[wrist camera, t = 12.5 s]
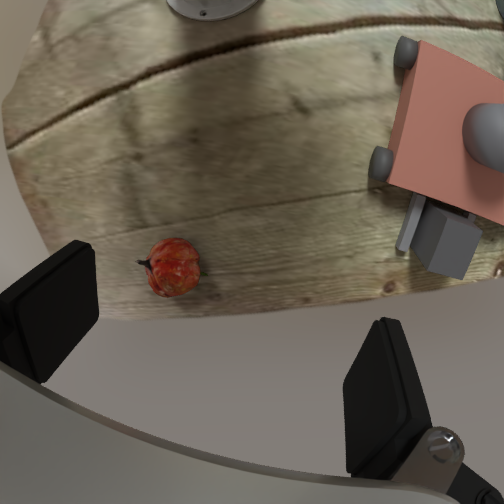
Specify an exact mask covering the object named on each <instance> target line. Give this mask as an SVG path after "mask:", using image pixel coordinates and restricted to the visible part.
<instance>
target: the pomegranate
mask: <svg viewBox="0 0 504 504" xmlns="http://www.w3.org/2000/svg"><path fill="white" fill-rule="evenodd" d="M199 259H200V257H199V254H198V253H197V251H196V250H195V249H194V248H193V247H192V245H191V244H190V243H189V242H188V241H186V240H184V239H180V238H168V239H164V240H161V241H160V242H158V243H157V244H156V245H154V246H153V247H152V249H151V251H150V254H149V256H148V257H147V259H146V260H144V261H142V260H137V261H135V262H137V263H138V264H140V265H144V266H145V270H146V274H147V275H148V282H149V284H150V286H151V287H152V289H153V291H154V292H155V293H156V294H158V295H159V296H162V297H167V298H168V297H171V296H177V295H182V294H184V293H186V292H188V291H190V290H192V288H194V287H195V286H196V285H197V284H198V282H199V277H200V274H201V275H206V276H208V274H206V273H204V272H200V267H199Z"/></svg>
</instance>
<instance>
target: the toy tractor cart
mask: <svg viewBox="0 0 504 504" xmlns="http://www.w3.org/2000/svg"><path fill="white" fill-rule="evenodd" d="M394 64H395V65H396V66H399V67H402V68H405V75H404V80H403V85H402V89H401V94H400V99H399V103H398V108H397V112H396V117H395V121H394V125H393V129H392V133H391V137H390V141H389V145H388V149H386V148H383V147H380V146H376V148H375V149H374V151H373V154H372V156H371V160H370V164H369V177H370V178H372V179H375V180H379V181H382V182H385V181H387V182H388V183H389V184H392V185H396V186H399V187H402V188H405V189H408V190H411V191H414V192H413V195H412V198H411V201H410V204H409V207H408V210H407V213H406V216H405V219H404V222H403V225H402V228H401V231H400V234H399V236H398V239H397V242H396V247H397V248H398V250H401V251H405V252H407V251H408V248H409V246H410V243H411V240H412V238H413V235H414V232H415V229H416V227H417V224H418V221H419V218H420V215H421V212H422V209H423V206H424V203H425V200H426V197H425V196H424V195H426V196H429V197H431V198H434V199H437V200H440V201H443V202H445V203H448V204H451V205H454V206H456V207H459V208H461V209H464V212H463V216H465V217H466V218H467V219H469V220H470V221H471V222H472V223H474V222H475V219H476V215H475V214H477V215H479V216H482V217H484V218H487V219H489V220H492V221H494V222H496V223H499V224H501V225H503V226H504V81H502V80H500V79H499V78H497V77H495V76H494V75H492V74H490V73H488V72H487V71H485V70H483V69H481V68H479V67H477V66H476V65H474V64H472V63H470V62H468V61H466V60H464V59H462V58H460V57H458V56H456V55H454V54H452V53H450V52H448V51H445V50H443V49H441V48H439V47H436V46H434V45H432V44H430V43H427V42H425V41H422V40H420V41H418V42H417V41H414V40H412V39H409V38H407V37H404V36H401V37H400V39H399V40H398V43H397V45H396V49H395V53H394ZM473 213H474V214H473Z"/></svg>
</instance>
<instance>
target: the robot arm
mask: <svg viewBox="0 0 504 504" xmlns="http://www.w3.org/2000/svg"><path fill="white" fill-rule="evenodd" d="M166 1H167V2H168V4H169V5H170V6H171V7H172V8H173V9H174V10H175V11H177V12H178V13H180V14H181V15H183V16H185V17H187V18H190V19H194V20H200V21H217V20H222V19H227V18H230V17H233V16H235V15H238V14H240V13H242V12H243V11H245V10H247V9H248V8H250V7H251V6H252V5H254V4H255V3H256V2H257V1H258V0H166ZM206 13H207V15H205V16H204V14H206ZM98 317H99V306H98V295H97V281H96V265H95V251H94V250H93V249H92V247H91V245H90V244H89V243H86V242H82V241H79V240H73V241H72V242H70V243H69V244H67V245H66V246H64V247H63V248H62V249H60V250H59V251H57V252H56V253H54V254H53V255H52V256H50V257H49V258H48V259H46V260H44V261H43V262H42V263H40V264H39V265H38V266H36V267H35V268H33V269H32V270H31V271H29V272H28V273H27V274H25V275H24V276H23V277H21V278H20V279H19V280H18V281H16V282H15V283H13V284H12V285H11V286H10V287H8V288H7V289H6V290H4V291H3V292H2V293H1V294H0V504H504V499H503V498H502V495H501V493H500V492H499V491H498V490H497V489H496V488H494V487H493V486H492V485H491V484H489V483H488V482H487V481H485V480H484V479H483V478H482V477H480V476H479V475H478V474H476V473H475V472H474V471H473V470H471V469H470V468H469V467H468V466H466V465H465V464H464V463H462V461H463V459H464V455H465V450H464V445H463V443H462V441H461V439H460V438H459V437H458V435H457V434H456V433H454V432H453V431H452V430H450V429H448V428H445V427H441V426H439V427H433V426H432V423H431V417H430V414H429V410H428V407H427V403H426V399H425V396H424V393H423V389H422V386H421V383H420V379H419V376H418V373H417V370H416V367H415V364H414V361H413V358H412V355H411V351H410V348H409V346H408V343H407V340H406V337H405V334H404V331H403V329H402V326H401V323H400V321H399V320H396V319H391V318H386V317H382V318H381V319H380V320H379V321H378V320H376V321H374V323H373V325H372V326H371V329H370V331H369V333H368V335H367V337H366V339H365V341H364V343H363V345H362V347H361V349H360V351H359V353H358V355H357V357H356V358H355V360H354V362H353V364H352V366H351V368H350V370H349V372H348V374H347V375H346V377H345V380H344V383H343V399H344V400H343V401H344V419H345V441H346V471H347V473H351V477H340V476H330V475H321V474H314V473H306V472H300V471H292V470H286V469H280V468H274V467H269V466H263V465H258V464H253V463H249V462H244V461H239V460H235V459H231V458H227V457H223V456H219V455H215V454H211V453H208V452H204V451H200V450H197V449H193V448H190V447H187V446H183V445H180V444H177V443H174V442H171V441H168V440H165V439H161V438H159V437H156V436H153V435H150V434H148V433H145V432H142V431H139V430H137V429H134V428H132V427H129V426H127V425H124V424H122V423H119V422H116V421H114V420H112V419H110V418H107V417H105V416H103V415H100V414H98V413H96V412H94V411H91V410H89V409H87V408H85V407H83V406H81V405H79V404H77V403H75V402H73V401H70V400H68V399H66V398H64V397H62V396H60V395H59V394H57V393H55V392H53V391H51V390H49V389H47V388H46V387H43V386H42V385H40V384H41V383H45V382H46V381H47V380H48V379H49V378H50V377H51V376H52V374H53V373H54V372H55V371H56V369H57V368H58V367H59V365H60V364H61V363H62V362H63V361H64V360H65V358H66V357H67V356H68V355H69V354H70V352H71V351H72V350H73V349H74V347H75V346H76V345H77V344H78V343H79V342H80V341H81V339H82V338H83V337H84V336H85V335H86V333H87V332H88V331H89V330H90V329H91V328H92V327H93V325H94V324H95V323H96V322H97V320H98Z"/></svg>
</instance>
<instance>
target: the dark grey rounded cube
mask: <svg viewBox="0 0 504 504" xmlns="http://www.w3.org/2000/svg"><path fill="white" fill-rule="evenodd" d="M482 233H483V231H482V230H481V229H480V228H479V227H477V226H476V225H475V224H474V223H472V222H471V221H470V220H469V219H467V218H466V217H465V216H463V215H462V214H461V213H459V212H458V211H456V210H453V209H450V208H448V207H445V206H442V205H439V204H436V203H433V202H431V201H428V200H425V203H424V206H423V209H422V212H421V215H420V218H419V221H418V224H417V227H416V229H415V232H414V235H413V238H412V240H411V243H410V246H411V248H412V249H413V251H414V252H415V254H416V255H417V257H418V258H419V259H420V261H421V262H422V264H423V265H424V267H425V268H426V270H427V271H430V272H434V273H438V274H441V275H445V276H449V277H452V278H456V279H460V280H463V278H464V275H465V273H466V271H467V269H468V266H469V264H470V262H471V260H472V257H473V255H474V253H475V250H476V248H477V245H478V243H479V240H480V238H481V235H482Z"/></svg>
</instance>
